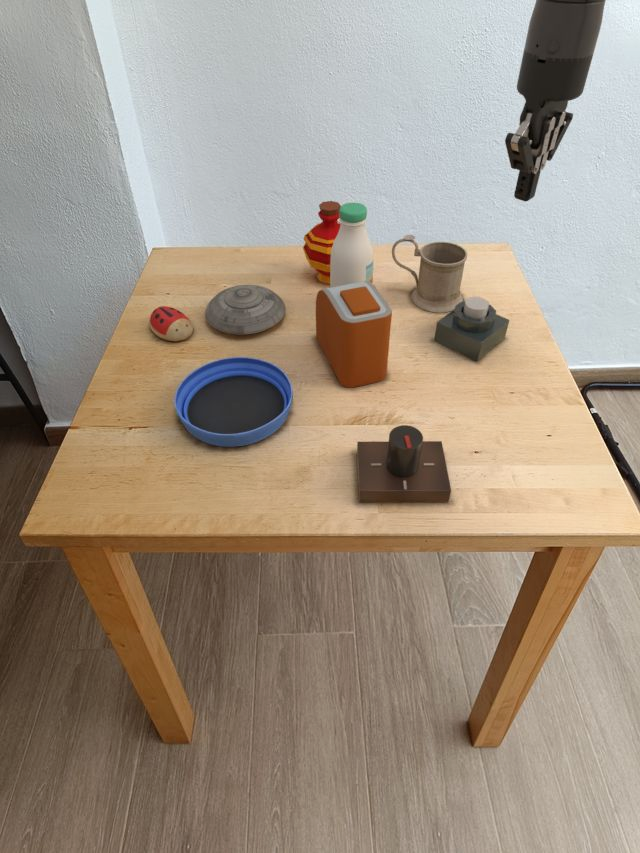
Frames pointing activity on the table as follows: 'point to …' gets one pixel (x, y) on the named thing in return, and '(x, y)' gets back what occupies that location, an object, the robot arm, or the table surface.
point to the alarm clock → (354, 332)
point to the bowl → (234, 401)
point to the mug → (437, 275)
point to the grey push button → (476, 307)
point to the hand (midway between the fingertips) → (523, 198)
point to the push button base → (471, 332)
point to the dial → (404, 450)
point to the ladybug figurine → (170, 324)
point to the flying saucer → (245, 310)
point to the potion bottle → (323, 240)
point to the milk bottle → (351, 248)
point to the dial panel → (391, 488)
